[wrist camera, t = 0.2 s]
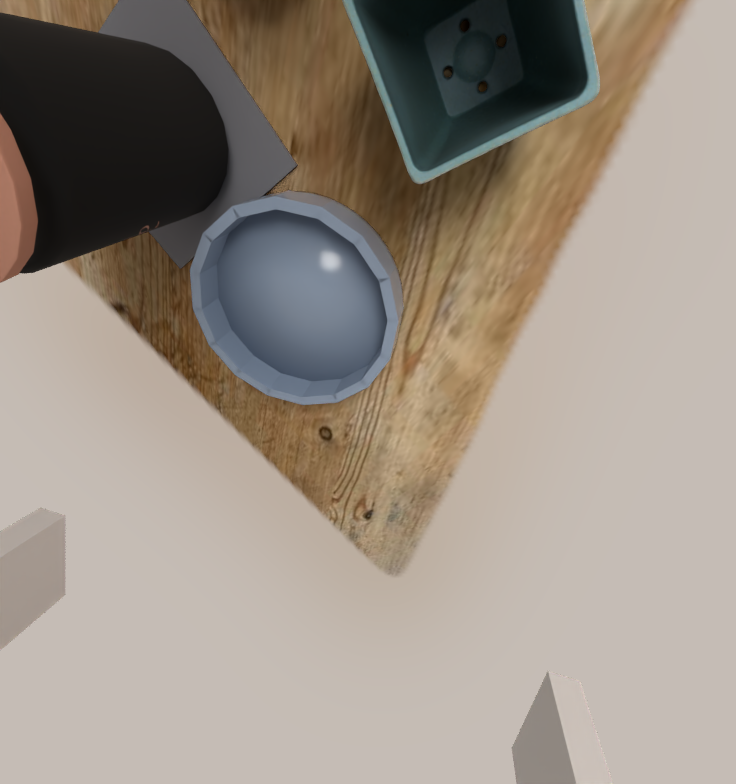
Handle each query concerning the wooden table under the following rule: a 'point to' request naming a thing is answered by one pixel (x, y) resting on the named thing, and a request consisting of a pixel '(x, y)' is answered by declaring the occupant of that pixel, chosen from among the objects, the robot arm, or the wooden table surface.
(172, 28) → the mat
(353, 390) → the bowl
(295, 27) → the wooden table surface
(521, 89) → the flower pot
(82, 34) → the coffee jar
